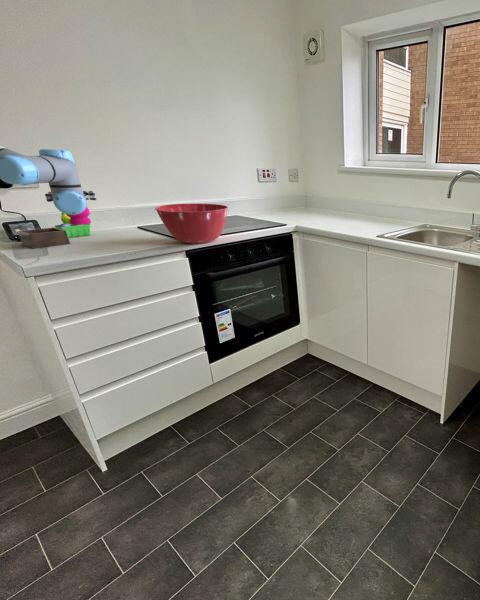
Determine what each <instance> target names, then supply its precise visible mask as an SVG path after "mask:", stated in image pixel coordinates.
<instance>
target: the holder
mask: <svg viewBox="0 0 480 600" xmlns="http://www.w3.org/2000/svg"><path fill="white" fill-rule="evenodd" d="M17 233H18V236H19V238H20V242H21V245H23V246H26V247H29V248H31V249H40V248H47V247H54V246H62V245H70V244H71V242H70V239H69V237H68V236H67V233H66V230H62V229H58V228H55V226H54V227H46V228H45V227H44V228H34V229H25V230H17Z"/></svg>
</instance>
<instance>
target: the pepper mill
mask: <svg viewBox="0 0 480 600" xmlns="http://www.w3.org/2000/svg"><path fill="white" fill-rule="evenodd" d="M90 214H91V211H90V209H89V207H88V205H87V206H86V209H85V210H84V211H83V212H82V213H80V214H76V215H69V214H66V215H67V216H68V217H70V218H71V219H69V222H70V224H71V225H83V224H92V220H91V218H89V216H90Z"/></svg>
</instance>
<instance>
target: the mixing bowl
mask: <svg viewBox="0 0 480 600" xmlns="http://www.w3.org/2000/svg"><path fill="white" fill-rule="evenodd" d="M228 209H229V207H228V206H227V205H224V204H217V203H173V204H164V205H158V206H156V207H155V208H154V210H155V211H156V212H157V214H158V216H159V219H160V220H161V222H162V224H163V225H164V227H165V228H166V230H167V231H168V232H169V233H170V235H171V236H172V237H173V238H175V239H176V240H178V241H180V242H181V243H183V244H189V245H194V244H195V245H199V244H208V243H212V242H214V241H216V240H217V239H219V237H221V234H222V232H223V230H224V228H225V225H226V220H227V215H228Z"/></svg>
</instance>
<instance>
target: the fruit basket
mask: <svg viewBox="0 0 480 600" xmlns="http://www.w3.org/2000/svg"><path fill="white" fill-rule="evenodd" d="M69 219H71V218H70V217H68V216H67V215H66V214H65V213H63V212H61V217H60V220H61V222H62V223H60V224H56V225H54V227H55V228H58V229H62V230H66V233H67V236H68V238H76V237H83V236H90V235H91V225H92V223H90V224H83V225H71V224H70V222H69Z"/></svg>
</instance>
